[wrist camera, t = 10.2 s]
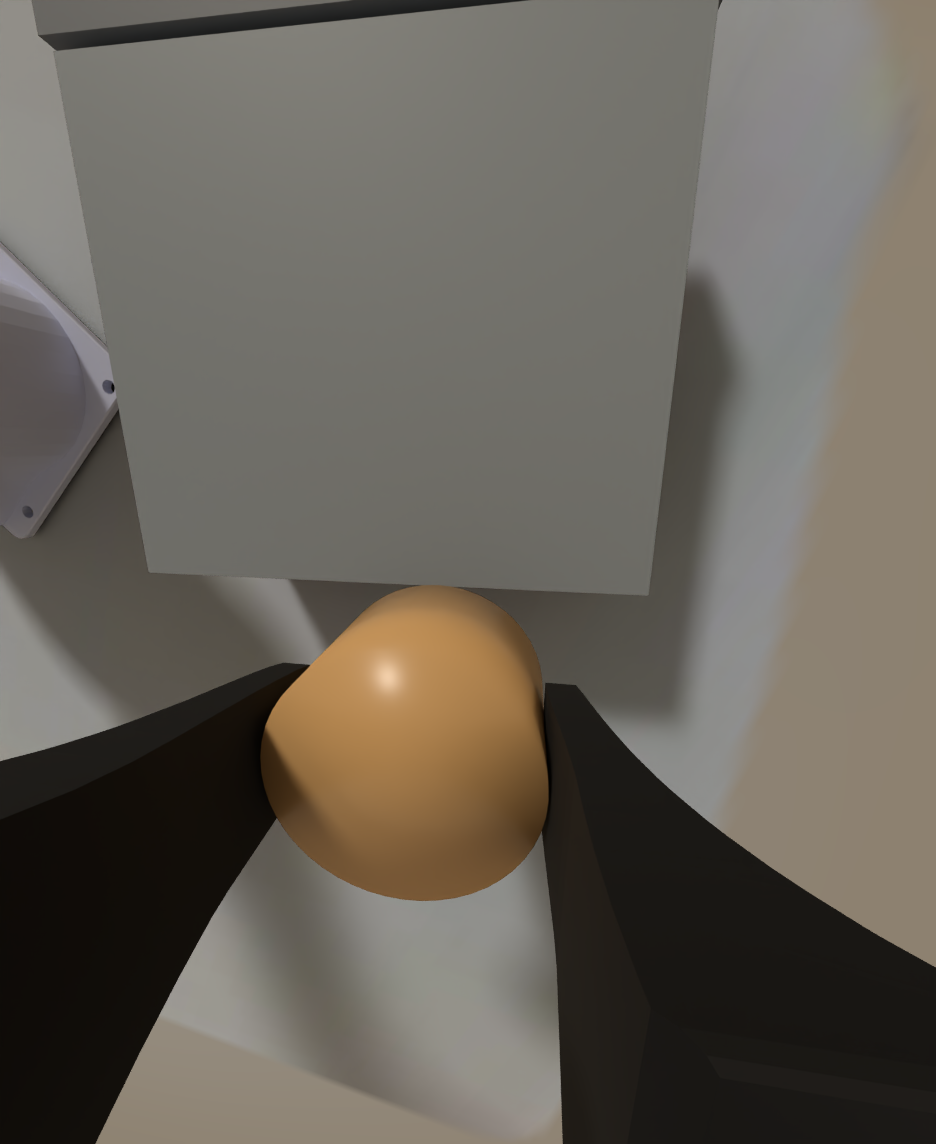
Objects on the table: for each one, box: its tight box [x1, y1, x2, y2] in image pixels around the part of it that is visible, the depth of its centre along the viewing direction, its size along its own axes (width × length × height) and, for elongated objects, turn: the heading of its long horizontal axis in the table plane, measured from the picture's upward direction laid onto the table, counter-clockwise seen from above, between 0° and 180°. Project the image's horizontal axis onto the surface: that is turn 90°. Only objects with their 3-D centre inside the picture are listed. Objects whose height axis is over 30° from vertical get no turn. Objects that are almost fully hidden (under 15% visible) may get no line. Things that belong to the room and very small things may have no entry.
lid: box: [32, 0, 722, 596], centre depth 12 cm, size 13×15×3 cm
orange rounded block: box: [260, 585, 549, 901], centre depth 10 cm, size 5×5×4 cm
